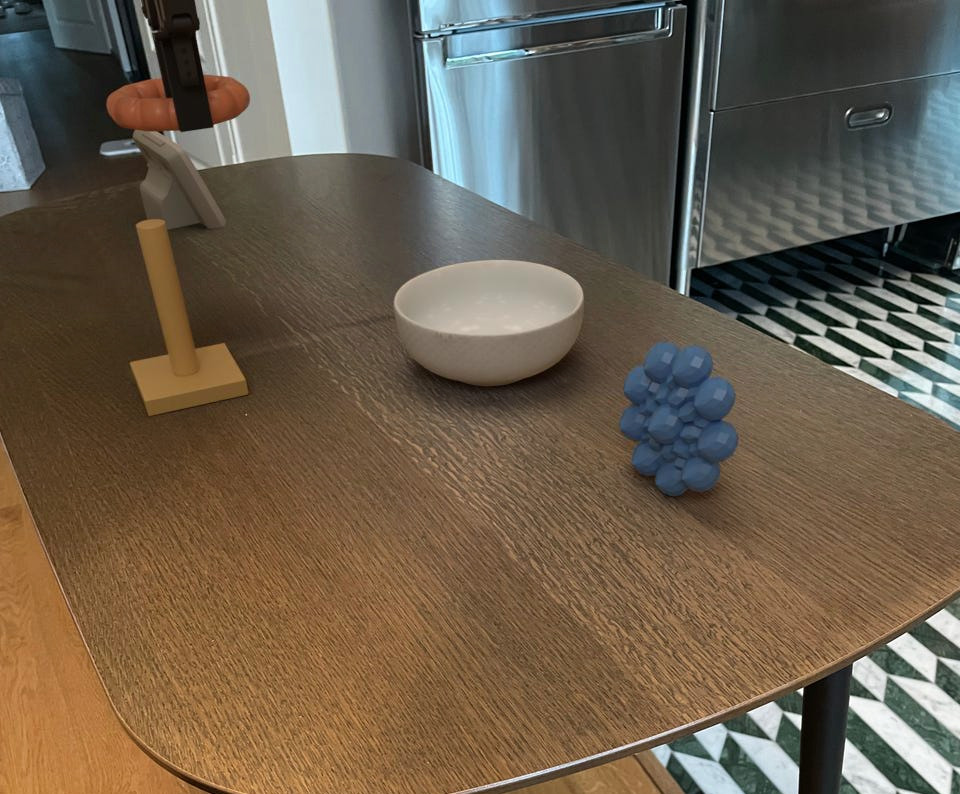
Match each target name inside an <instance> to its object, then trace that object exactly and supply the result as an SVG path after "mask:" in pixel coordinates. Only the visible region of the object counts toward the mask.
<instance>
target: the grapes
mask: <svg viewBox="0 0 960 794" xmlns="http://www.w3.org/2000/svg"><path fill="white" fill-rule="evenodd" d="M713 367H714V361H713V357H712V355H711V353H710V352H709V351H708V350H707V349H706V348H705V347H703V346H700V345H697V344H693V345H692V344H691V345H688V346H684V348H683V349H680V348H679V347H678V346H677V345H676V344H675V343H673V342H670V341H667V340H665V341H659V342H656V343H655V344H654V345H652V346H651V347H650V349H648V351H647V353H646V355H645V357H644V361H643V364H642V365H641V364H640V365H636V366H635V367H633V368H632V369H631V370H630V371H629V372H628V373H627V376H626V377H625V379H624V381H623V387H622V388H623V390H622V391H623V394H624V396H625V398H626V399H627V400H628V401H629V402H630V403H631V404H629V405H628V406H627V407H626V408H624V410H623V412H622V413H621V415H620V418H619V422H618V429H619V432H620V433H621V434H622V435H623V436H624V437H625V438H626V439H627V440H629V441H632V442H634V443H637V442H639V443H637V444H636V446H635V448H634V450H633V452H632V454H631V460H630V461H631V466H632V467H633V469H634V470H635V471H636V472H637V473H638V474H639V475H642V476H645V477H648V476H649V477H655V479H654V481H655V486H656V488H657V489H658V490H659V491H660V493H662V494H663V493H664V494H663V495H666V494H667V495H666V496H669V497H671V496H672V497H679V495H680V496H682V495H683V494H684V493H686V492H687V491H688V490H691V491H694V492H696V493H703V492H707V491H709V490H710V489H712V488H713V487H714V486H716V484H717V482H718V481H719V479H720V478H721V477H720V476H721V470H722V468H721V464H720V463H722V462H725V461H727V460H728V459H729V458H731V457H732V456H733V455H734V453H735V452H736V449H737V447H738V445H739V434H738V432H737V429H736V428H735V427H734V425H732V424H731V423H730V422H728V421H725V420H723V419H724V418H725V417H727V416H728V415H729V414H730V413H731V411H732V410H733V407H734V405H735V403H736V399H737V398H736V397H737V393H736V390H735V387H734V386H733V384H732V383H731V382H730V381H729V379H726V378H723V377H720V376H713V377H711V374H712V372H713Z"/></svg>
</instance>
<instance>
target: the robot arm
mask: <svg viewBox="0 0 960 794" xmlns="http://www.w3.org/2000/svg"><path fill="white" fill-rule="evenodd" d="M140 4H141V8H140V9H141V12H142V15H143V17H144V18H145V20H147V24H148V27H150V30H151V31H152V33H151V35H152V40H153V45H154V50H155V55H156V58H157V64H158V68H159V72H160V78H162V82H163V86H164V91H165V96H166V98H172V99H173V104H174V108H175V113H176V118H177V122H178V127H179V132H180V133H184V132H185V133H186V132H192V131H199V130H206V129H207V130H208V129H213V128H214V125H213V121H212V116H211V111H210V106H209V101H208V96H207V91H206V86H205V80H204V75H205V74H204V71H203V70H204V69H203V65H202V61H201V55H200V51H199V44H198V40H197V32H198V31H200V29H201V25H200V24H201V22H200V18H199V17H198V11H197V5H196V0H140Z"/></svg>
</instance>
